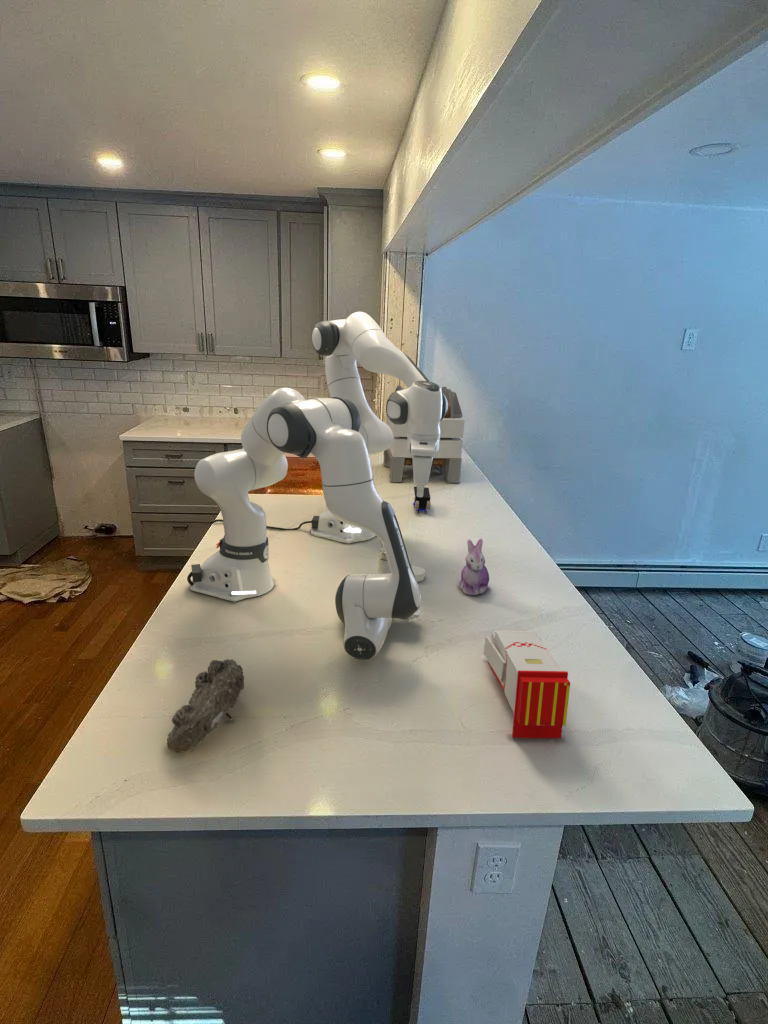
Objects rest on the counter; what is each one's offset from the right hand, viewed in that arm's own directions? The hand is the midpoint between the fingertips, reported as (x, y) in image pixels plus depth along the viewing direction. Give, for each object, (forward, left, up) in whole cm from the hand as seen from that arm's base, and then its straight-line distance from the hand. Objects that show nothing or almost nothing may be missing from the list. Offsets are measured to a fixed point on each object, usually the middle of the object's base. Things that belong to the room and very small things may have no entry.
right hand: (420, 491), depth 159 cm
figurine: (+18, -1, -27) cm, 32 cm away
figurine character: (-11, +60, -27) cm, 66 cm away
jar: (-4, -19, -27) cm, 33 cm away
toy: (+33, -45, -27) cm, 62 cm away
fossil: (-23, -72, -27) cm, 80 cm away
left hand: (-3, -20, -21) cm, 29 cm away
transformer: (-23, +111, -27) cm, 117 cm away
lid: (0, 0, -25) cm, 25 cm away
